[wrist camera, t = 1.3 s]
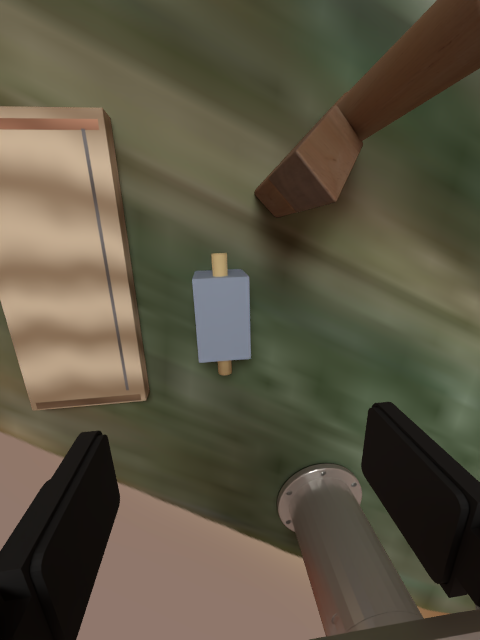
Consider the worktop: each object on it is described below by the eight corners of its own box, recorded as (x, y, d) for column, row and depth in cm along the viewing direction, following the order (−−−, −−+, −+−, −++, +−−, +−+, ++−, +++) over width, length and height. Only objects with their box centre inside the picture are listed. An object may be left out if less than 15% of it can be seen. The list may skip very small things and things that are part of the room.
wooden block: (252, 192, 28) (322, 123, 11) (330, 107, 27) (554, -127, 9) (276, 219, 29) (375, 195, 12) (353, 139, 28) (591, -20, 10)
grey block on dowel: (243, 352, 33) (251, 377, 27) (201, 355, 33) (200, 381, 27) (240, 250, 30) (248, 253, 24) (193, 251, 29) (190, 255, 23)
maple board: (149, 391, 33) (146, 400, 31) (43, 400, 32) (32, 410, 30) (110, 117, 25) (102, 107, 23) (-36, 116, 24) (-57, 105, 22)
